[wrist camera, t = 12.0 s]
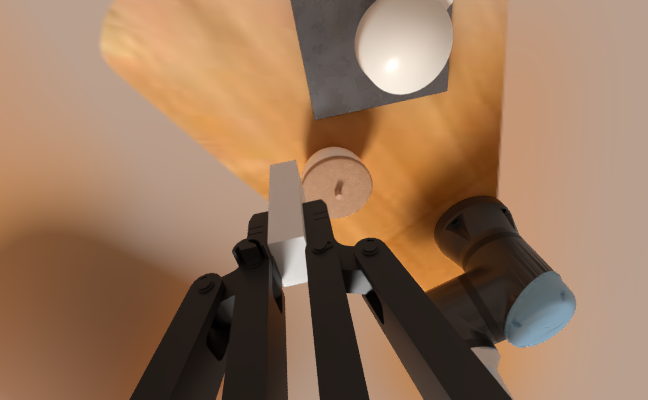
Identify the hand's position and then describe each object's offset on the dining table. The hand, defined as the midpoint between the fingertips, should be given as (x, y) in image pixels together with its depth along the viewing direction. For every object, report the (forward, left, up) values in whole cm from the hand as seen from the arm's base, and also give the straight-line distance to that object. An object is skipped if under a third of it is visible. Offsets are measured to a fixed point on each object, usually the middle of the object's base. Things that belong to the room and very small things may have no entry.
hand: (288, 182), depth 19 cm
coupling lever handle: (+6, -17, -21) cm, 27 cm away
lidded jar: (-17, -4, -31) cm, 35 cm away
